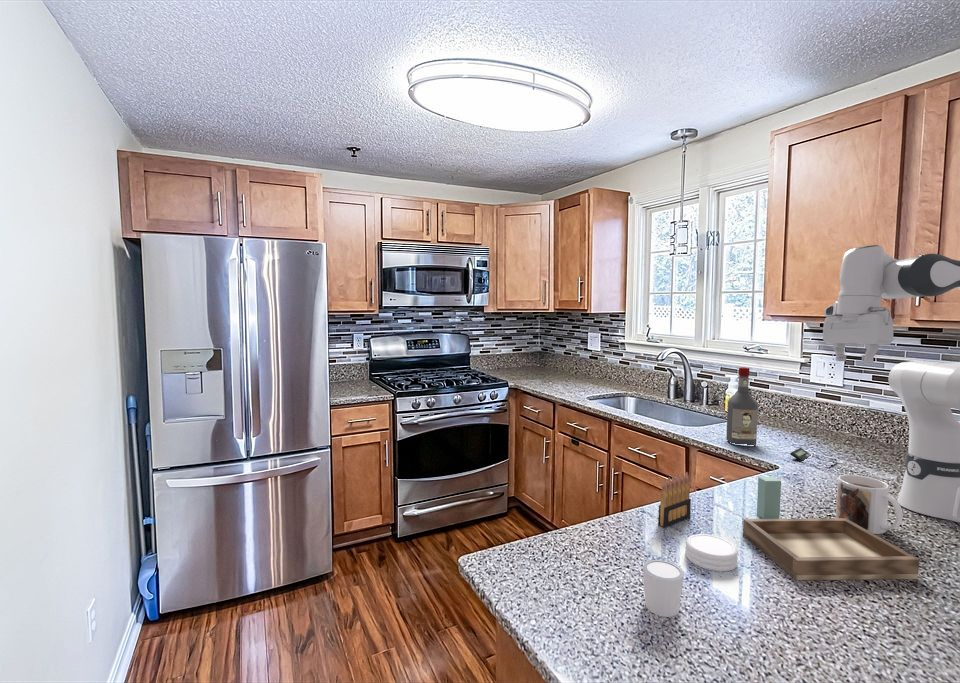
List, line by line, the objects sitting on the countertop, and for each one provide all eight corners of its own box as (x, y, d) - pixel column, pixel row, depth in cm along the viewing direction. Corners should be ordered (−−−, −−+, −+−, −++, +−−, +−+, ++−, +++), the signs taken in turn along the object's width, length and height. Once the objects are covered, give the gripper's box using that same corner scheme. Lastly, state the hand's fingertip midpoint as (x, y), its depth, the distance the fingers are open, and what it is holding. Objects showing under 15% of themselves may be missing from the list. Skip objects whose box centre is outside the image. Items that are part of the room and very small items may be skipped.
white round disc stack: (735, 578, 95) (736, 561, 95) (681, 563, 100) (682, 547, 100) (739, 556, 103) (739, 540, 103) (689, 544, 109) (689, 529, 108)
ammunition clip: (664, 528, 116) (665, 480, 115) (657, 525, 118) (659, 477, 117) (690, 518, 122) (692, 472, 121) (684, 515, 123) (685, 469, 123)
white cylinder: (635, 596, 89) (636, 559, 88) (671, 594, 89) (672, 558, 89) (651, 620, 82) (653, 581, 81) (690, 618, 82) (691, 579, 82)
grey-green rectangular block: (771, 514, 124) (773, 476, 123) (779, 519, 121) (781, 480, 120) (756, 514, 124) (758, 476, 123) (763, 519, 121) (765, 481, 120)
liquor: (724, 439, 194) (727, 366, 192) (748, 440, 193) (751, 366, 191) (733, 446, 185) (736, 369, 183) (758, 447, 184) (761, 369, 182)
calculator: (828, 469, 160) (829, 460, 160) (789, 460, 169) (789, 452, 169) (837, 463, 166) (838, 455, 166) (799, 455, 175) (799, 447, 175)
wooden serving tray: (844, 534, 113) (845, 518, 113) (917, 578, 95) (919, 559, 94) (742, 535, 112) (743, 519, 112) (796, 580, 94) (797, 560, 94)
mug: (878, 520, 121) (881, 477, 120) (902, 542, 109) (906, 494, 109) (829, 514, 124) (831, 472, 123) (847, 534, 113) (850, 489, 112)
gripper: (904, 306, 113) (899, 365, 113) (843, 311, 133) (839, 361, 133) (876, 304, 113) (871, 363, 113) (820, 310, 134) (815, 359, 134)
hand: (853, 362), depth 124 cm, fingers open, 8 cm apart
